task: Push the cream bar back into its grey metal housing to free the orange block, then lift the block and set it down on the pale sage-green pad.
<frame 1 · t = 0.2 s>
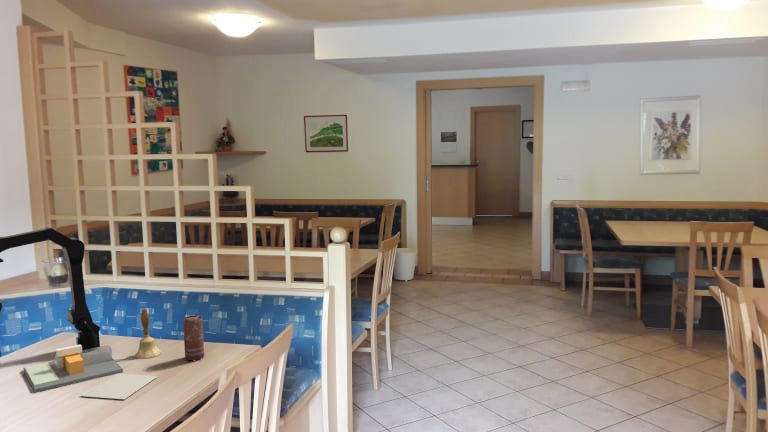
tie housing: (72, 370, 183), resting on slate board
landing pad: (41, 377, 178), resting on slate board
paper stack: (126, 395, 166), on the table
cream bar: (69, 350, 182), point 7 cm above the table, slide at 0.0 cm
can: (195, 358, 193), on the table
hand bell: (147, 355, 197), on the table
slate board: (73, 371, 183), on the table
orange block: (72, 367, 183), point 1 cm above the table, touching slate board
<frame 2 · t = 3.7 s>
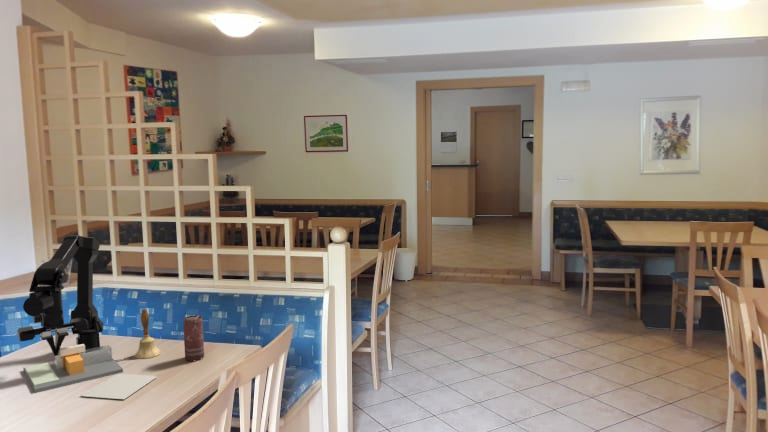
hand: (55, 355, 180), 6 cm above the table, tool pointing down, fingers closed
cream bar: (72, 350, 183), point 7 cm above the table, slide at 0.9 cm, touching gripper
everything else where it was.
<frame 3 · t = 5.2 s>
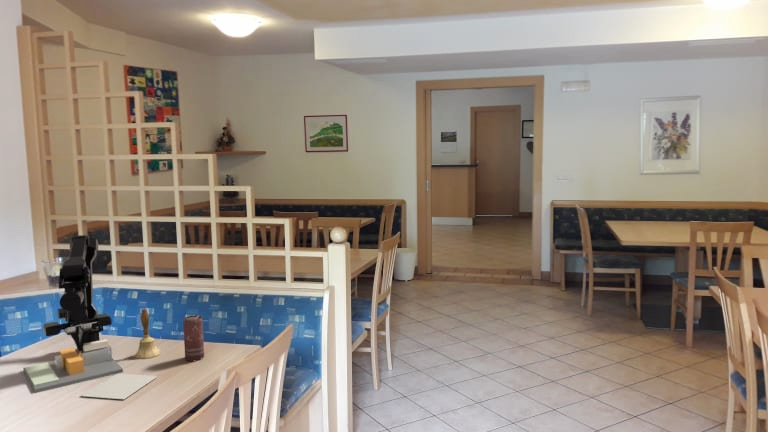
hand: (79, 350, 184), 6 cm above the table, tool pointing down, fingers closed
cream bar: (95, 345, 187), point 7 cm above the table, slide at 7.7 cm, touching gripper
everything else where it was.
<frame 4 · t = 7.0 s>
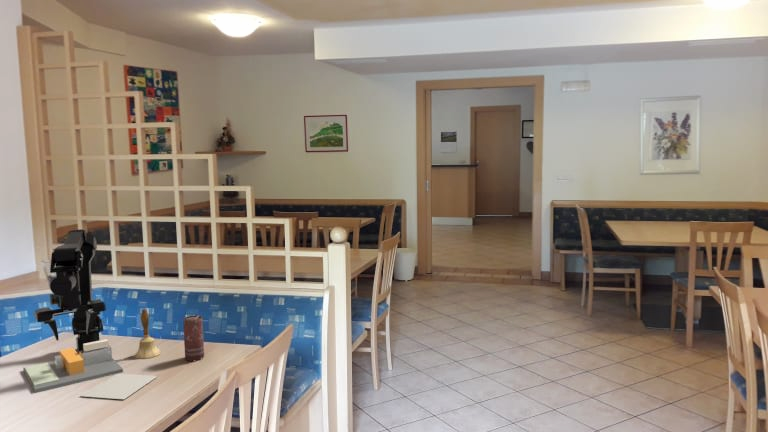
hand: (72, 337, 179), 12 cm above the table, tool pointing down, fingers open, 8 cm apart
cream bar: (95, 345, 187), point 7 cm above the table, slide at 7.8 cm
everything else where it was.
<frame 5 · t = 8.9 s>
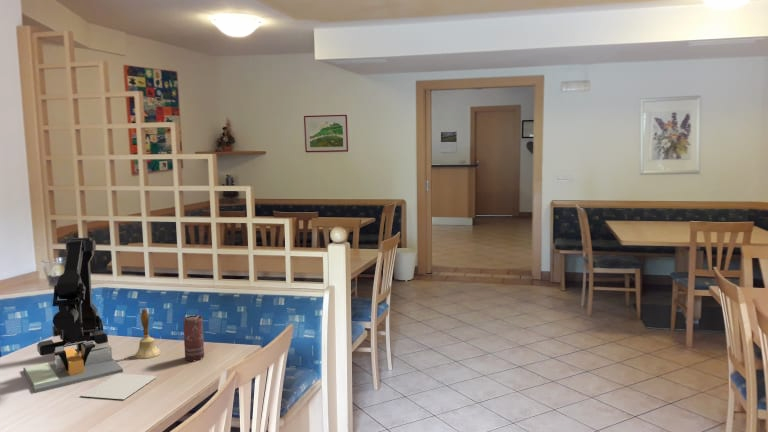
hand: (75, 368, 180), 2 cm above the table, tool pointing down, fingers closed on orange block, 4 cm apart
orange block: (72, 367, 183), point 1 cm above the table, touching gripper, slate board
everything else where it was.
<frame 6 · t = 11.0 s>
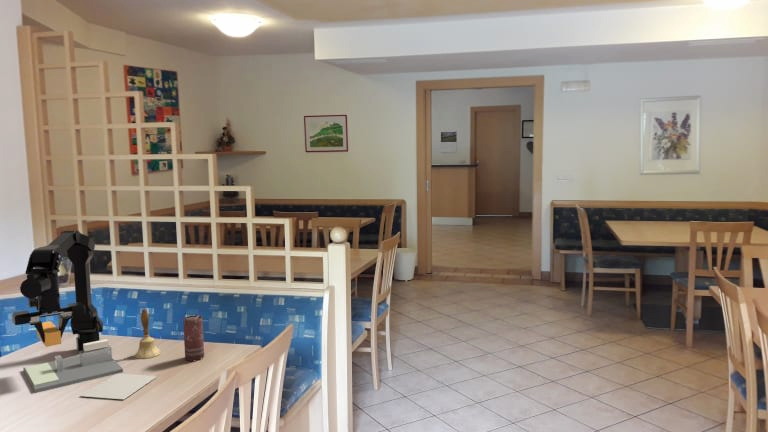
hand: (51, 340, 175), 12 cm above the table, tool pointing down, fingers closed on orange block, 4 cm apart
orange block: (49, 339, 178), point 11 cm above the table, touching gripper
everything else where it was.
when the fingers open (3 cm above the table, at t = 13.1 s): orange block drops 1 cm, resting on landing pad.
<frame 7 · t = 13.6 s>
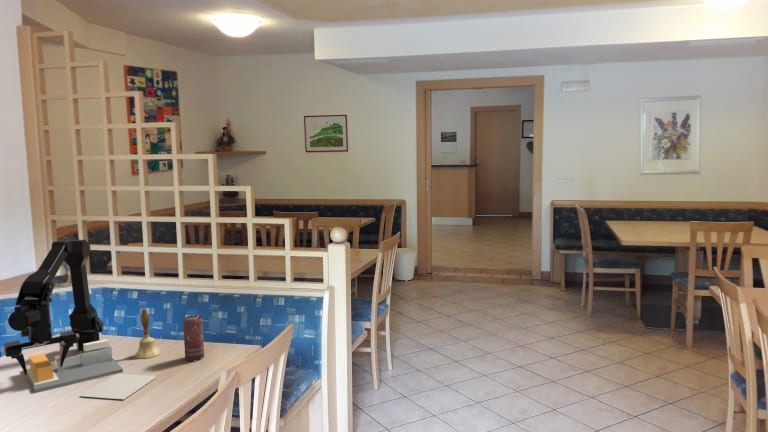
hand: (43, 370, 174), 3 cm above the table, tool pointing down, fingers open, 9 cm apart
orange block: (41, 373, 178), point 1 cm above the table, touching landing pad
everything else where it was.
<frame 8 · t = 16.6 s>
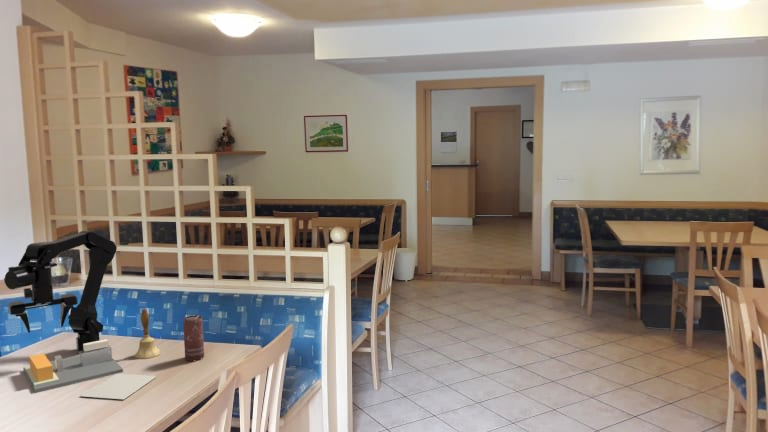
hand: (45, 329, 187), 12 cm above the table, tool pointing down, fingers open, 9 cm apart
nothing on the table moved.
at the end: cream bar slide at 7.8 cm; orange block inside the target area (0.1 cm from its centre), point 1.3 cm above the table; orange block tilted 0° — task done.
